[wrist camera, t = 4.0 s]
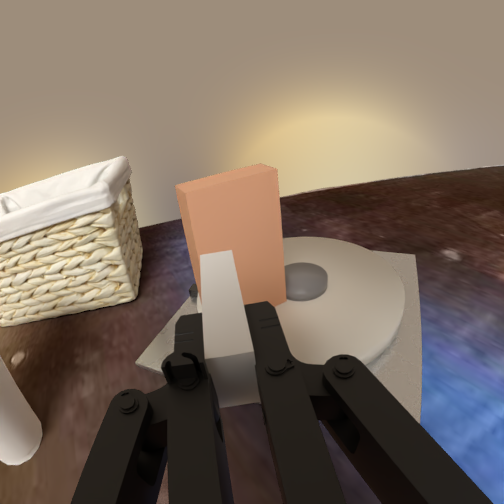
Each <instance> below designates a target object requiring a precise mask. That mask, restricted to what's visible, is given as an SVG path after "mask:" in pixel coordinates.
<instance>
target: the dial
mask: <svg viewBox="0 0 504 504" xmlns="http://www.w3.org/2000/svg"><path fill="white" fill-rule="evenodd" d="M175 188H176V193H177V198H178V203H179V208H180V213H181V218H182V222H183V227H184V232H185V236H186V241H187V245H188V250H189V254H190V259H191V263H192V267H193V272H194V276H195V280H196V284H197V288H198V297H197V310H198V313H202V298H201V272H200V255H203V254H209V253H216V252H222V251H228V250H232V253H233V258H234V263H235V267H236V272H237V277H238V281H239V286H240V291H241V295H242V300H243V304H244V305H246V304H252V303H258V302H263V301H268V302H269V303H270V304H271V305H273V306H274V307H275V309H276V312H277V315H278V318H279V321H280V324H281V326H282V329H283V332H284V335H285V338H286V341H287V344H288V347H289V350H290V352H291V354H292V355H293V356H294V357H295V358H296V359H297V360H299V361H300V362H303V363H306V364H319V365H324V364H325V363H326V361H327V360H328V359H330V358H331V357H333V356H336V355H340V354H348V355H351V356H354V357H356V358H357V359H359V360H360V361H361V362H362V363H363V364H364V365H366V364H368V363H370V362H371V361H373V360H374V359H375V358H377V357H378V356H379V355H380V354H381V353H383V352H384V351H385V349H386V348H387V347H388V346H389V345H390V344H391V342H392V341H393V339H394V338H395V336H396V334H397V332H398V329H399V327H400V323H401V319H402V314H403V310H404V304H405V290H404V286H403V283H402V281H401V279H400V277H399V275H398V273H397V272H396V271H395V269H394V268H393V267H392V266H391V265H390V264H389V263H388V262H387V261H386V260H384V259H383V258H382V257H380V256H379V255H377V254H376V253H374V252H372V251H370V250H368V249H366V248H364V247H361V246H359V245H356V244H353V243H349V242H346V241H341V240H337V239H330V238H322V237H291V238H283V237H282V224H281V210H280V198H279V186H278V174H277V169H276V168H273V167H270V166H266V165H263V164H257V165H252V166H248V167H244V168H240V169H235V170H231V171H227V172H224V173H219V174H216V175H212V176H208V177H204V178H201V179H197V180H193V181H189V182H186V183H182V184H178V185H175Z"/></svg>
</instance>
